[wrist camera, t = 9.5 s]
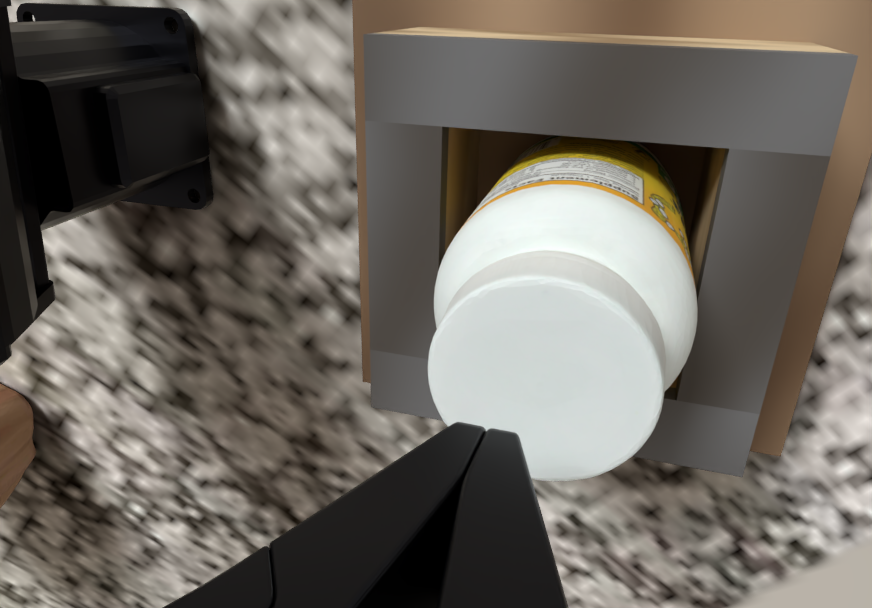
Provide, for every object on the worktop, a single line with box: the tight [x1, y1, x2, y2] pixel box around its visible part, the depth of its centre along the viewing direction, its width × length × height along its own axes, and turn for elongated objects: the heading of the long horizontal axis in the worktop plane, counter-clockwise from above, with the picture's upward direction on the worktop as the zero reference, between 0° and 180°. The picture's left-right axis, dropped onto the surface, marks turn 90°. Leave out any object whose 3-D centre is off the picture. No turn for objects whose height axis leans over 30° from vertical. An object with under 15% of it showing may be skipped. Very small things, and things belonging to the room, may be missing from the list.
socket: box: [352, 0, 872, 477], centre depth 18 cm, size 14×14×5 cm
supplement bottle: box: [428, 135, 698, 482], centre depth 15 cm, size 5×5×10 cm
